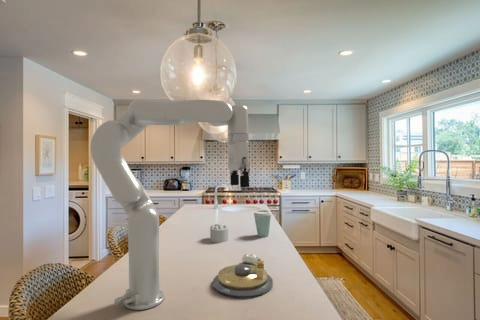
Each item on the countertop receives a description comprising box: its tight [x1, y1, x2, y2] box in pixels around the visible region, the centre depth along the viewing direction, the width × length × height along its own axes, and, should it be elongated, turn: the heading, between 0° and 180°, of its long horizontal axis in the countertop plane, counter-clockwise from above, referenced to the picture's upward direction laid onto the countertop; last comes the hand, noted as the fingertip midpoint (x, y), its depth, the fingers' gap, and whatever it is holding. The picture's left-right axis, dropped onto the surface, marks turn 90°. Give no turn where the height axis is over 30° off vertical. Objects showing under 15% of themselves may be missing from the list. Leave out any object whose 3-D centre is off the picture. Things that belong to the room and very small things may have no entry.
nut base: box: [212, 273, 274, 299], centre depth 108 cm, size 22×22×3 cm
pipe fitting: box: [241, 253, 262, 266], centre depth 130 cm, size 8×4×7 cm
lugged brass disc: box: [217, 260, 268, 291], centre depth 108 cm, size 18×18×6 cm
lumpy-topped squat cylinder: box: [209, 223, 229, 244], centre depth 170 cm, size 10×13×9 cm
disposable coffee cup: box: [253, 209, 272, 238], centre depth 178 cm, size 11×11×15 cm
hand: (239, 186), depth 107 cm, fingers open, 9 cm apart
